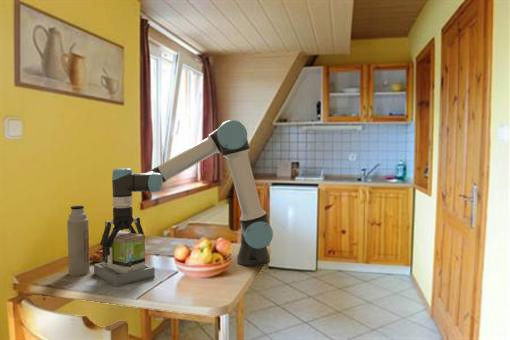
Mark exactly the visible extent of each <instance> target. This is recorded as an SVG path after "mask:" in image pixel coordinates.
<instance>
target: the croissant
mask: <svg viewBox="0 0 510 340" xmlns="http://www.w3.org/2000/svg"><path fill="white" fill-rule="evenodd" d="M89 262H92V263H102V262H103V246H100V248H99V249H98V250H97V251H95V252H94V254H91V255H89Z"/></svg>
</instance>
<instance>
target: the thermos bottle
mask: <svg viewBox="0 0 510 340" xmlns="http://www.w3.org/2000/svg"><path fill="white" fill-rule="evenodd" d="M84 207H85V206H84V205H72V206H70V209H71V210H70V211H71V212H70V214H69V215H68V220H67V221H66V224H67V225H66V226H67V229H66V230H67V252H68V253H67V255H68V257H67V258H68V259H67V260H68V262H67V263H68V264H67V265H68V275H69V276H72V277H76V276H77V277H80V276H84V275H87V274H89V273H90V270H91V269H90V265H91V264H90V261H89V257H90V231H89V230H90V229H89V227H90V226H89V219H88V218H87V213H86V212H85V208H84Z"/></svg>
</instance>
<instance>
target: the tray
mask: <svg viewBox="0 0 510 340" xmlns="http://www.w3.org/2000/svg"><path fill="white" fill-rule="evenodd" d="M155 269H156V268H155V267H154V266H153V265H149V264H147V263H146V262H145V269H141V270H136V271H132V272H128V273H124V274H119V273H115V272H112V271H110V270H109V269H107V268H105V267H103V262H97V263H94V264H93V274H94V275H95V274H96V275H95V276H98V277H99V278H100V277H101V278H100V279H102V278H103V279H102V280H103V281H105V280H106V282H107V281H108V282H107V283H109V284H110V283H111V285H112V286H113V287H115V286H116V288H118V287H117V286H119V287H122V286H121V285H123V286H127V285H130V284H134V283H137V282H141V281H146V280H148V279H153V278H155V277H156V276H155V274H156V273H155V271H156V270H155ZM126 284H127V285H126Z"/></svg>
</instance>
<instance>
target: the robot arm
mask: <svg viewBox="0 0 510 340" xmlns="http://www.w3.org/2000/svg"><path fill="white" fill-rule="evenodd" d="M250 149H251V147H250V143H249V140H248V132H247V128H246V127H245V125H244V124H243V123H242V122H240V121H239V120H237V119H236V120H235V119H230V120H226V121H223V122H222V123H221V124H220V125H219V127H218V128H217V129H215V130H214V131H213V132H211V133H209V134H208V136H207V138H205V139H203V140H201V141H200V142H198V143H196V144H194V145H193V146H191V147H189V148H187V149H186V150H184V151H182V152H180V153H179V154H177V155H175V156H174V157H171V158H170V159H168V160H166V161H165V162H162V163H161V164H159V165H158V166H156V167H154V168H152V169H151V170H148V171H146V172H140V173H139V172H136V173H135V172H133V171H132V168H130V167H126V168H125V167H124V168H123V167H120V168H114V169H113V170H112V173H111V175H112V177H111V184H112V185H111V187H112V206H113V208H112V220H110V221H107V220H106V221H105V222H104V223H105V225H104V231H103V234H102V235H103V236H102V237H101V241H100V242H99V243H100V244H99V246H100V247H102V246H103V247H105V254H106V255H107V256H108V263H110V264H112V247H110V246H111V244H112V242H113V240H114V237H115V236H116V235H117V233H118V232H119V231H125V230H129V231H128V232H131V233H138V234H144V235H145V233H144V230H143V227H142V224H141V218H140V217H138V216H135V217H133V212H134V211H133V193H136V192H137V193H138V192H139V193H140V192H142V193H144V192H146V193H147V192H149V193H150V192H152V193H154V192H161V191H162V190H163V187H164V186H163V184H164V183H166V182H168V181H169V180H171V179H172V178H174V177H176V176H177V175H180V174H181V173H184V172H185V171H187V170H189V169H190V168H192V167H193V166H196V165H197V164H199V163H201V162H202V161H204V160H206V159H208V158H209V157H211V156H214V155H215V154H222V157H223V158H225V159H226V160H227V163H228V166H229V170H230V174H231V175H230V176H231V178H232V182H233V186H234V188H235V193H236V196H237V200H238V203H239V207H240V211H241V213H240V217H239V222H240V247H239V249H238V254H237V256H236V262H237V264H239V265H243V266H249V267H258V266H265V265H268V264H270V262H271V256H270V254H269V250H268V249H269V248H268V246H269V245H270V243H271V242H272V240H273V237H274V231H273V228H272V226H271V225H270V221H269V218H268V217H269V216H268V214H267V211H266V210H264V209H263V208H262V205H261V200H260V196H259V193H258V190H257V185H256V182H255V177H254V174H253V170H252V166H251V163H250V158H249V154H248V153H249V152H250V151H251V150H250ZM133 223H134V225H135V227H134V226H133V225H132V224H133ZM112 226H113V228H112ZM111 229H112V231H111ZM135 229H136V230H137V231H136V230H135ZM109 233H111V234H110V236H109ZM108 236H109V238H108ZM107 239H108V240H107Z"/></svg>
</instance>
